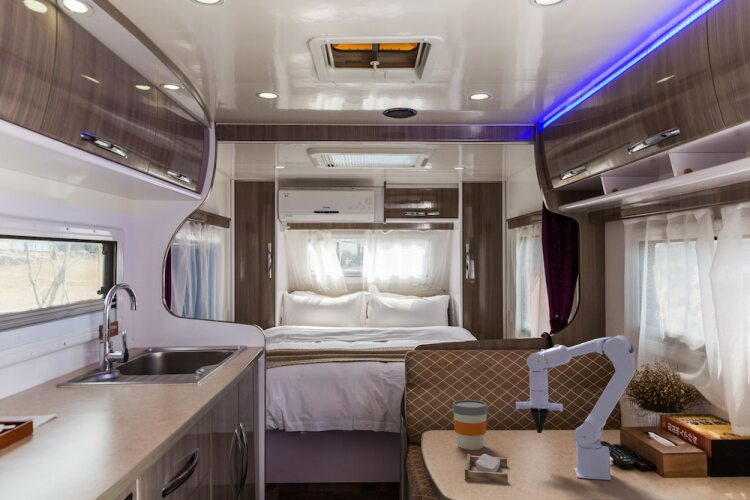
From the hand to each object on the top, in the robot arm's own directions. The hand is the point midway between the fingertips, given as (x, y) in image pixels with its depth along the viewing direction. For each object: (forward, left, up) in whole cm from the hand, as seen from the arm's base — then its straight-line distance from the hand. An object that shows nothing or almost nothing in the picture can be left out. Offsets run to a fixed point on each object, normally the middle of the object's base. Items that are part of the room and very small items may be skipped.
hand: (539, 432), depth 178 cm
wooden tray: (+16, +11, -10) cm, 22 cm away
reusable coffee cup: (+23, -16, -11) cm, 30 cm away
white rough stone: (+16, +9, -11) cm, 22 cm away
